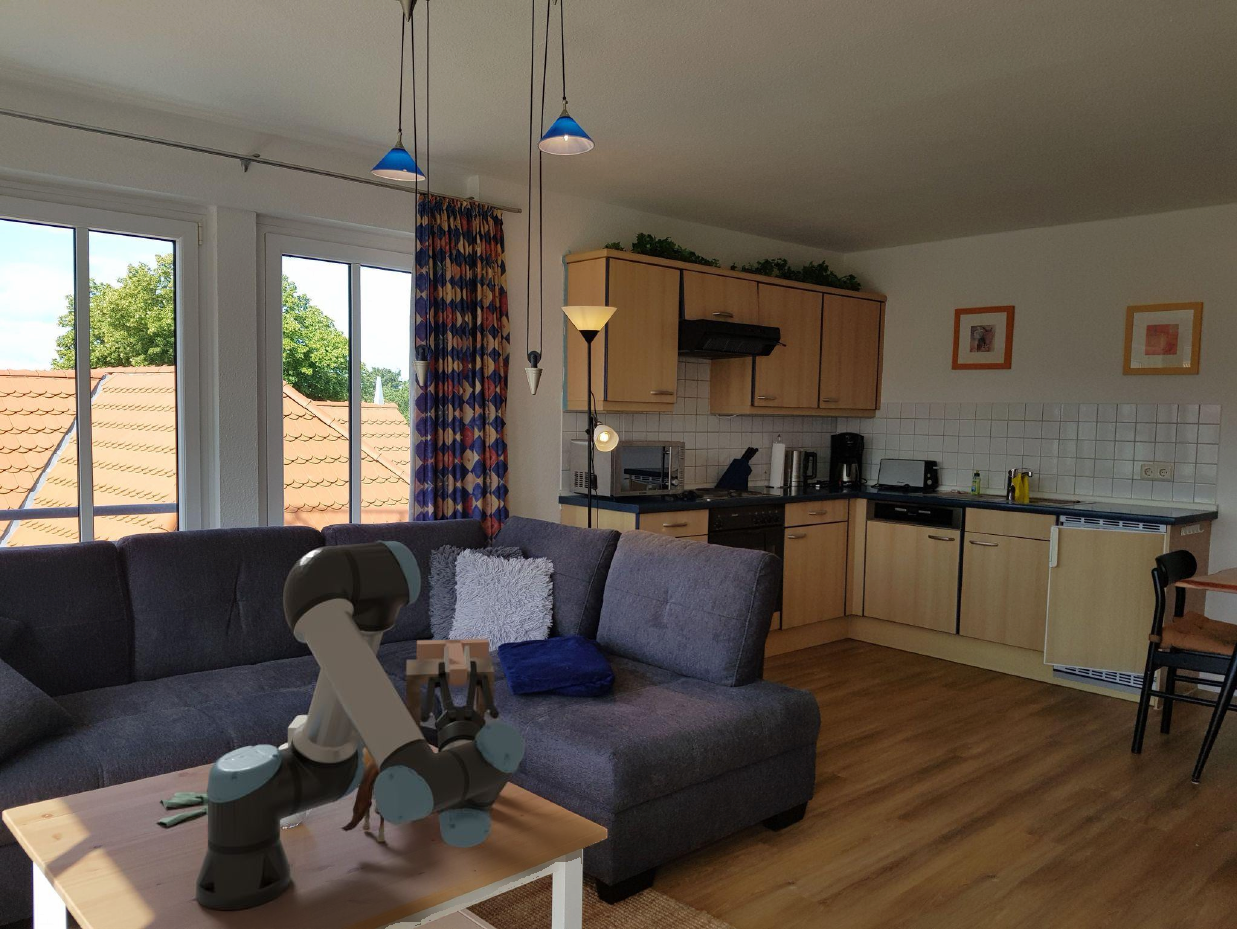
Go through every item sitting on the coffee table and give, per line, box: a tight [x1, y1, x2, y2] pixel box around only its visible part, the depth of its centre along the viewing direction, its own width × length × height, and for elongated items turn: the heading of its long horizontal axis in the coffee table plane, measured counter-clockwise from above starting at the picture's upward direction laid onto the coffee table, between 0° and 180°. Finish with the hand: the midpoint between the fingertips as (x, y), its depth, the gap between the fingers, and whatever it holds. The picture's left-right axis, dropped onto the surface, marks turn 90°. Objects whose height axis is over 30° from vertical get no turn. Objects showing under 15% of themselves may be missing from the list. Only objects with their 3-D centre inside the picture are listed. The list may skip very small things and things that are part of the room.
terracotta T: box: [416, 638, 490, 687], centre depth 167 cm, size 14×22×3 cm, turn 13°
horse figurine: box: [340, 748, 386, 843], centre depth 181 cm, size 31×8×21 cm, turn 3°
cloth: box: [156, 791, 208, 828], centre depth 185 cm, size 20×22×2 cm
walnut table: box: [405, 656, 495, 813], centre depth 190 cm, size 18×12×30 cm, turn 103°
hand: (456, 651), depth 164 cm, fingers closed on terracotta T, 3 cm apart
